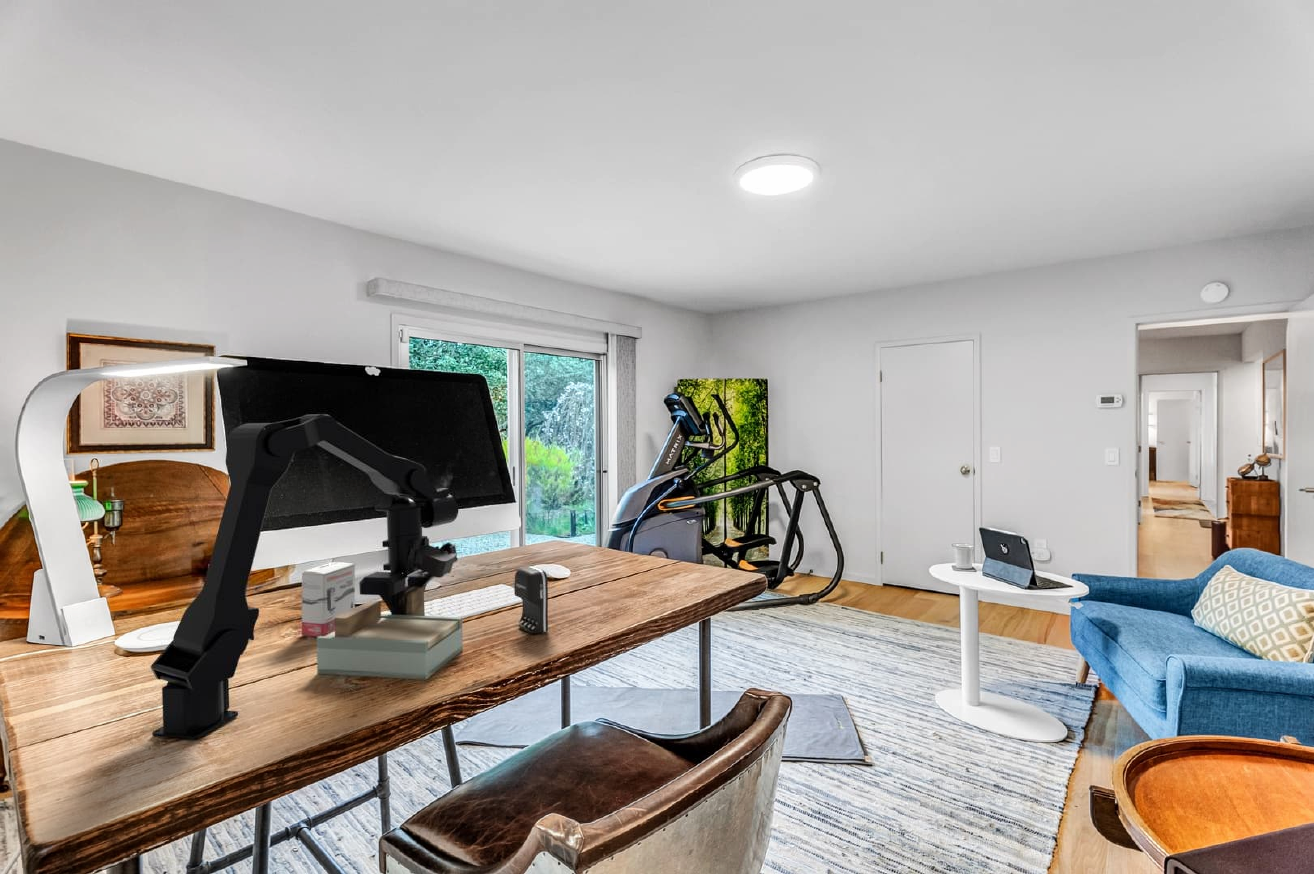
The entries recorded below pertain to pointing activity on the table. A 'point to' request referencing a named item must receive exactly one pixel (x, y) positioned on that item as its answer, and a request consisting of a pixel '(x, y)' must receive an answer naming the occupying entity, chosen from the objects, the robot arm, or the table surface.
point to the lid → (389, 626)
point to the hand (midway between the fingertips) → (408, 619)
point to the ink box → (326, 596)
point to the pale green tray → (388, 653)
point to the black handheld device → (532, 599)
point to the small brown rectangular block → (415, 602)
